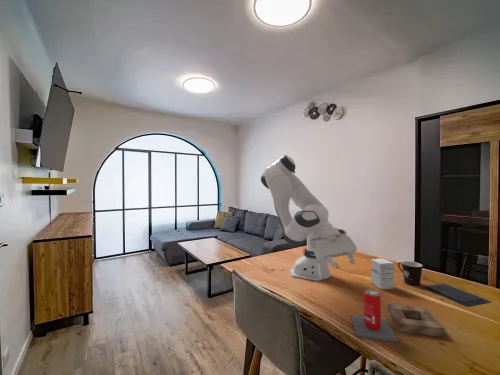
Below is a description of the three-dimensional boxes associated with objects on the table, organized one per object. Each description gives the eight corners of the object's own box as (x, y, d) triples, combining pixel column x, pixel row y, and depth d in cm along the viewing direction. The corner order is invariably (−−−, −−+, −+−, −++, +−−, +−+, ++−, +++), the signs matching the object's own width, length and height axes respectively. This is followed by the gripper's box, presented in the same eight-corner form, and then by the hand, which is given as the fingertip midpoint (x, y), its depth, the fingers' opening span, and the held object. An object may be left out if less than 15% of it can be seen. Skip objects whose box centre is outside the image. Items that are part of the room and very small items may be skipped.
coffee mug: (426, 287, 113) (426, 267, 113) (406, 286, 115) (406, 266, 115) (414, 278, 125) (414, 259, 125) (396, 277, 127) (396, 259, 126)
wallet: (420, 284, 115) (444, 281, 118) (420, 288, 115) (444, 284, 118) (465, 304, 95) (493, 299, 98) (465, 309, 95) (493, 304, 98)
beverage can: (361, 322, 84) (360, 289, 84) (374, 321, 85) (374, 288, 85) (369, 331, 79) (369, 296, 79) (384, 330, 80) (383, 295, 79)
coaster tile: (356, 336, 78) (356, 334, 78) (351, 316, 90) (351, 314, 90) (397, 342, 75) (397, 340, 75) (386, 321, 86) (386, 319, 86)
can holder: (399, 331, 80) (399, 322, 80) (387, 311, 93) (387, 304, 93) (444, 337, 77) (444, 328, 77) (425, 315, 89) (425, 308, 89)
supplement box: (370, 283, 120) (370, 258, 119) (384, 282, 120) (384, 258, 120) (380, 289, 112) (380, 263, 112) (394, 288, 113) (394, 262, 113)
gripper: (311, 234, 96) (329, 265, 87) (347, 229, 104) (367, 257, 96) (304, 243, 100) (321, 273, 91) (340, 238, 108) (358, 265, 100)
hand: (345, 265), depth 93 cm, fingers open, 8 cm apart
